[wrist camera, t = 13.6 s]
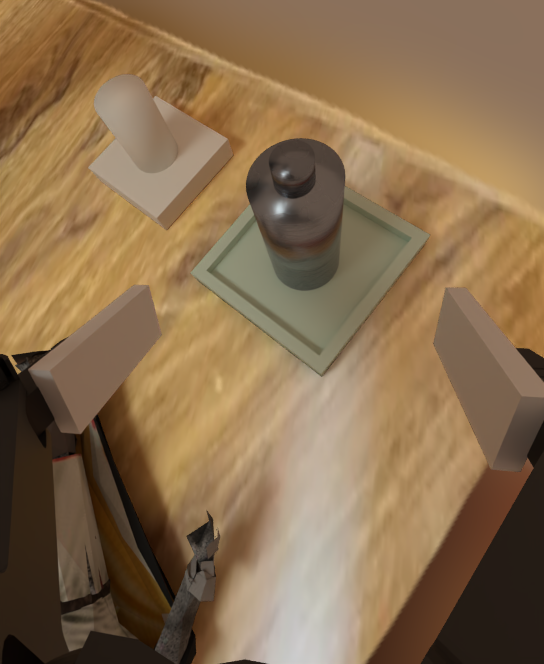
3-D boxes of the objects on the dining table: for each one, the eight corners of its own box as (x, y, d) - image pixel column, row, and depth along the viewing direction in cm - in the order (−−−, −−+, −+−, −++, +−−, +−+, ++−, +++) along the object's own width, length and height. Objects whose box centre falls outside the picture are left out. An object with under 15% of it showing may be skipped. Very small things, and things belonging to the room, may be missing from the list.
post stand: (100, 181, 35) (38, 115, 28) (164, 113, 36) (121, 30, 29) (166, 230, 32) (117, 171, 25) (233, 154, 33) (206, 76, 26)
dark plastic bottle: (259, 266, 29) (217, 173, 18) (300, 218, 30) (283, 99, 19) (311, 303, 28) (300, 226, 17) (353, 252, 28) (369, 143, 17)
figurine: (85, 294, 23) (336, 784, 17) (140, 324, 31) (322, 658, 25) (-241, 486, 22) (-107, 1111, 15) (-93, 464, 30) (35, 861, 23)
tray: (197, 280, 31) (190, 272, 29) (293, 168, 32) (292, 155, 31) (321, 376, 27) (321, 374, 25) (424, 244, 28) (430, 234, 27)
